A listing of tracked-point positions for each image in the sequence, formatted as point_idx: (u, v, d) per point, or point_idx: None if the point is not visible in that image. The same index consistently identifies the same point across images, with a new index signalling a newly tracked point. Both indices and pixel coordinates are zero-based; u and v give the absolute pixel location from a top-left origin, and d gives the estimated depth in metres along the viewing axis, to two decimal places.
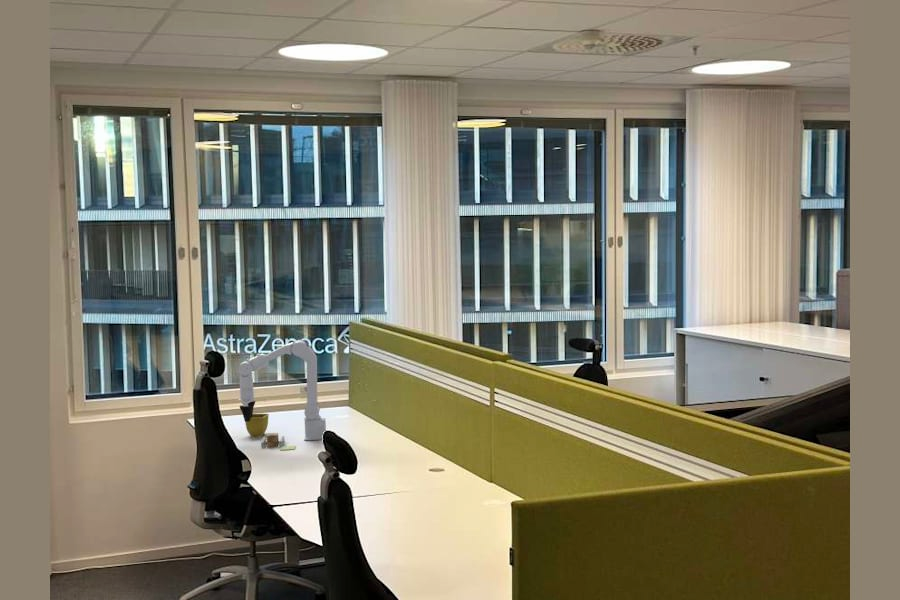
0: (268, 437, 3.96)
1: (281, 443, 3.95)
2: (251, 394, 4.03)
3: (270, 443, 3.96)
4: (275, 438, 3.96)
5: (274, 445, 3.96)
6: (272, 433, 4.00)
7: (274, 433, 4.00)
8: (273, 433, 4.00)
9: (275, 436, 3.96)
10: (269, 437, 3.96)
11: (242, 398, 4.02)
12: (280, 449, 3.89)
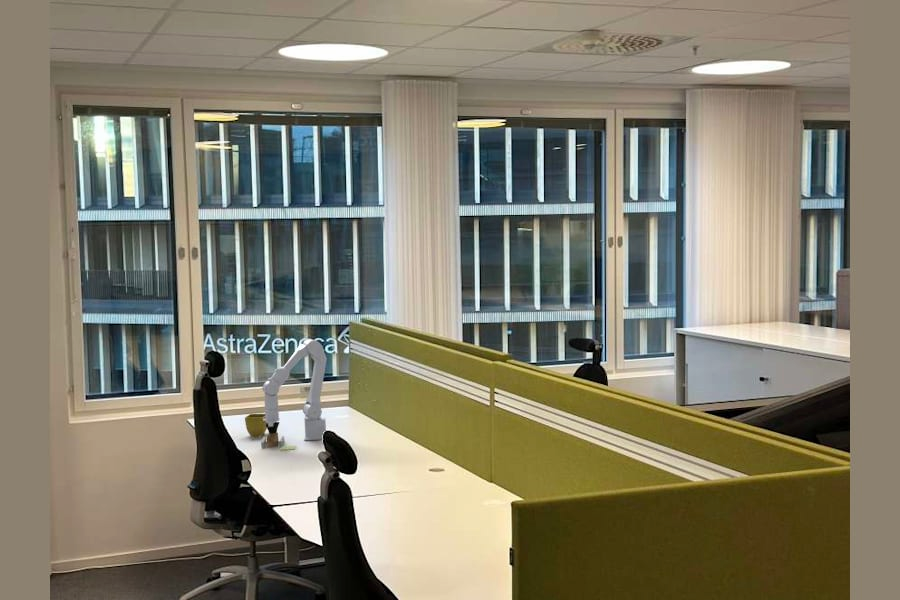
0: (268, 437, 3.96)
1: (281, 443, 3.95)
2: (276, 414, 3.99)
3: (270, 443, 3.96)
4: (275, 438, 3.96)
5: (274, 445, 3.96)
6: (272, 433, 3.99)
7: (274, 433, 3.99)
8: (273, 433, 3.99)
9: (275, 436, 3.96)
10: (269, 437, 3.96)
11: (267, 418, 3.98)
12: (280, 449, 3.89)
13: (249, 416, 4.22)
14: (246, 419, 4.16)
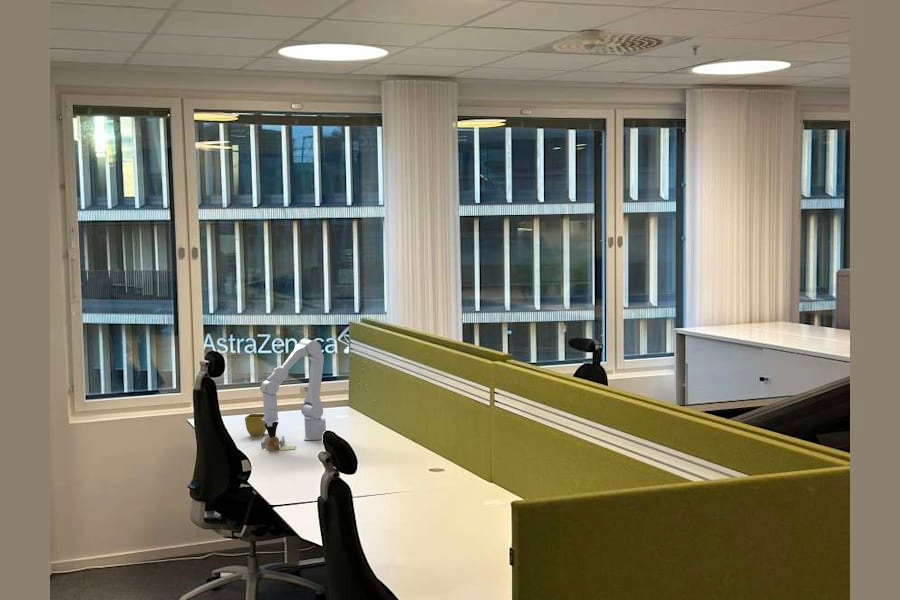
0: (270, 441, 3.88)
1: (281, 443, 3.95)
2: (275, 413, 3.94)
3: (272, 447, 3.89)
4: (277, 442, 3.89)
5: (275, 449, 3.89)
6: (271, 437, 3.92)
7: (273, 437, 3.92)
8: (272, 437, 3.92)
9: (277, 439, 3.89)
10: (271, 441, 3.88)
11: (266, 418, 3.94)
12: (280, 449, 3.89)
13: (249, 416, 4.22)
14: (246, 419, 4.16)
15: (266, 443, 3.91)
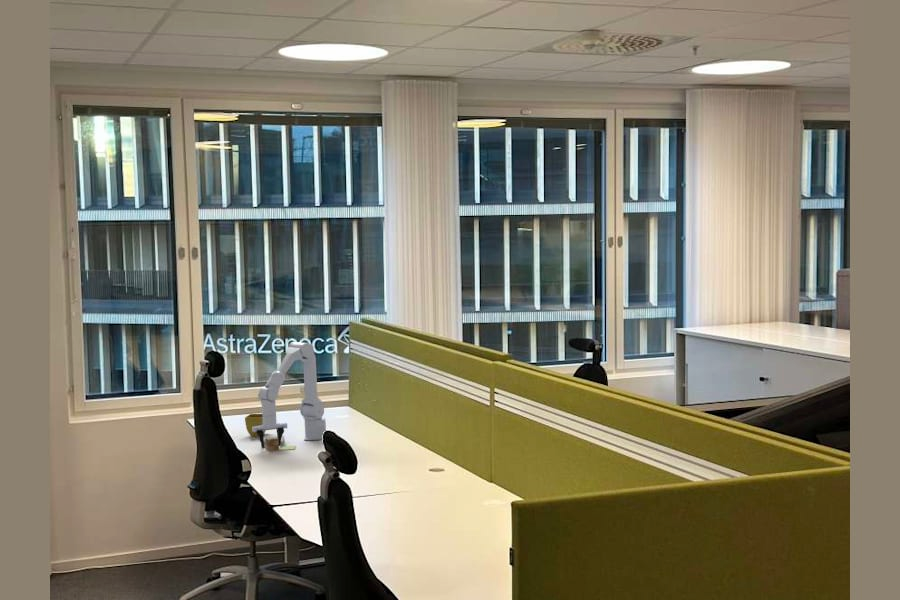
0: (269, 441, 3.88)
1: (281, 443, 3.95)
2: (266, 421, 3.87)
3: (272, 447, 3.89)
4: (276, 441, 3.89)
5: (275, 449, 3.89)
6: (270, 437, 3.92)
7: (272, 437, 3.92)
8: (271, 437, 3.92)
9: (276, 439, 3.89)
10: (270, 441, 3.88)
11: None
12: (280, 449, 3.89)
13: (249, 416, 4.22)
14: (246, 419, 4.16)
15: (266, 443, 3.91)
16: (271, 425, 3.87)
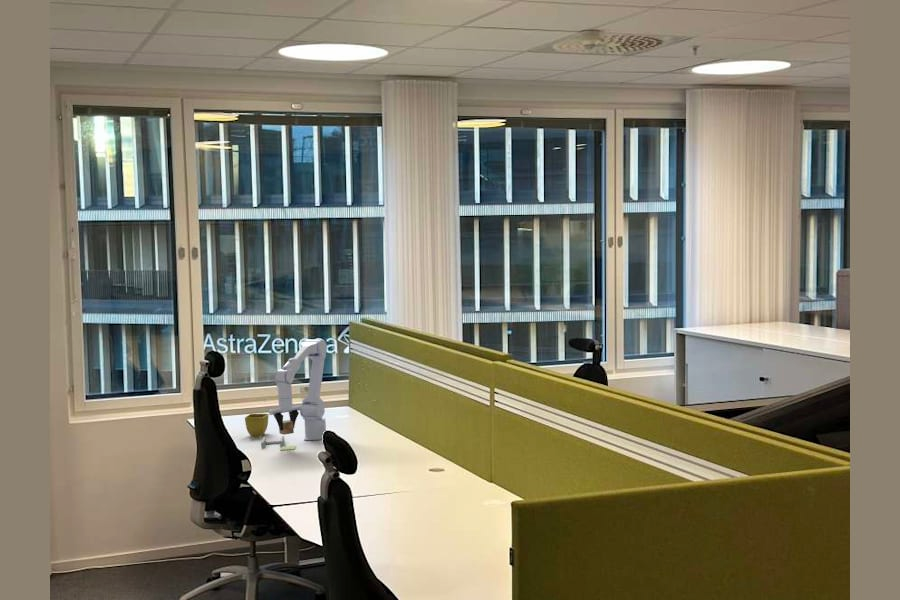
0: (284, 424, 3.89)
1: (281, 443, 3.95)
2: (283, 403, 3.87)
3: (287, 430, 3.89)
4: (291, 425, 3.90)
5: (290, 432, 3.90)
6: (284, 421, 3.93)
7: (286, 420, 3.93)
8: None
9: (291, 422, 3.90)
10: (285, 424, 3.89)
11: None
12: (280, 449, 3.89)
13: (249, 416, 4.22)
14: (246, 419, 4.16)
15: None
16: (289, 407, 3.88)
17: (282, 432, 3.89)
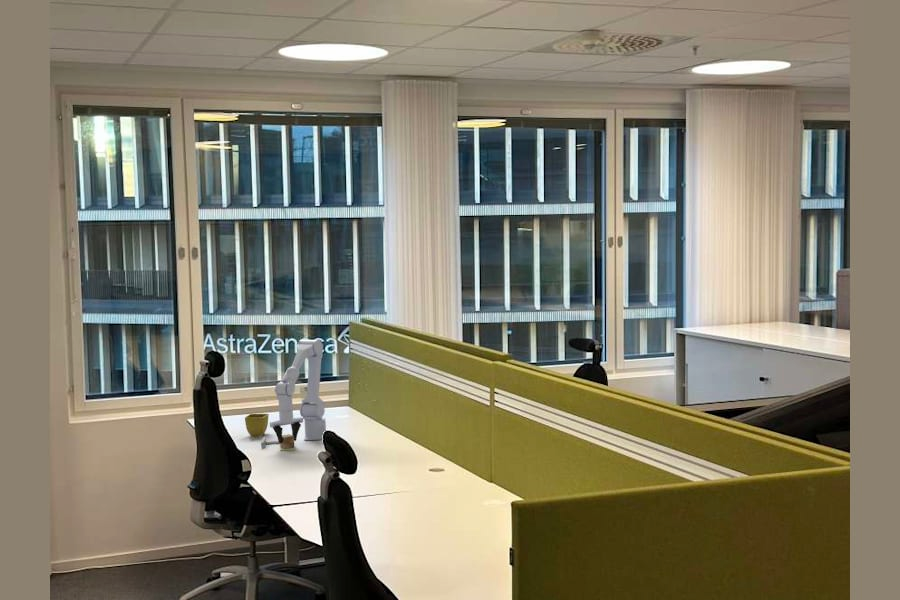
0: (285, 439, 3.89)
1: None
2: (284, 416, 3.88)
3: (288, 445, 3.90)
4: (292, 439, 3.91)
5: (291, 446, 3.91)
6: (285, 435, 3.93)
7: (287, 435, 3.93)
8: (286, 435, 3.93)
9: (292, 437, 3.91)
10: (286, 439, 3.89)
11: None
12: (280, 449, 3.89)
13: (249, 416, 4.22)
14: (246, 419, 4.16)
15: None
16: (289, 420, 3.88)
17: (283, 446, 3.90)
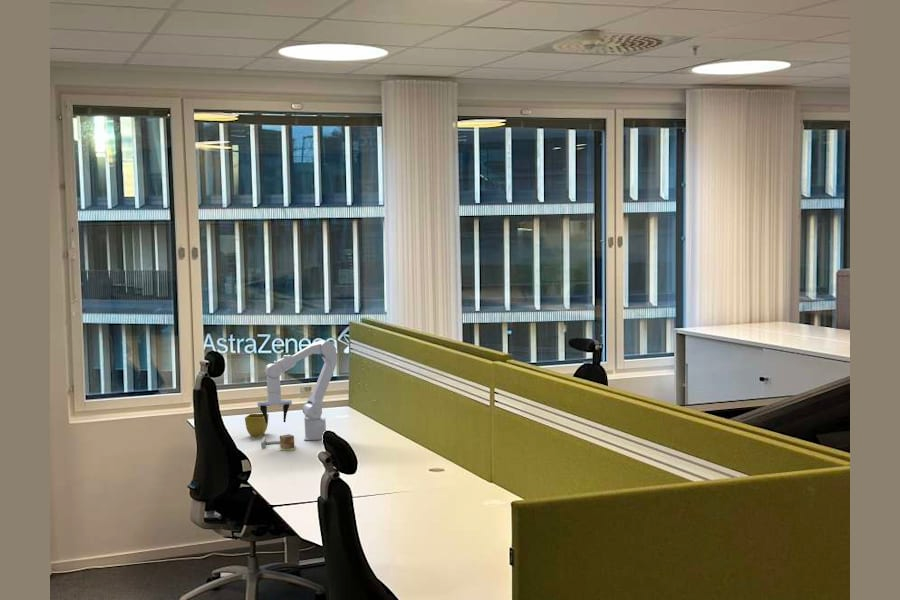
0: (285, 439, 3.89)
1: None
2: (269, 397, 3.98)
3: (288, 445, 3.90)
4: (292, 439, 3.91)
5: (291, 446, 3.91)
6: (285, 435, 3.93)
7: (287, 435, 3.93)
8: (286, 435, 3.93)
9: (292, 437, 3.91)
10: (286, 439, 3.89)
11: None
12: (280, 449, 3.89)
13: (249, 416, 4.22)
14: (246, 419, 4.16)
15: (280, 441, 3.92)
16: (274, 401, 3.97)
17: (283, 446, 3.90)
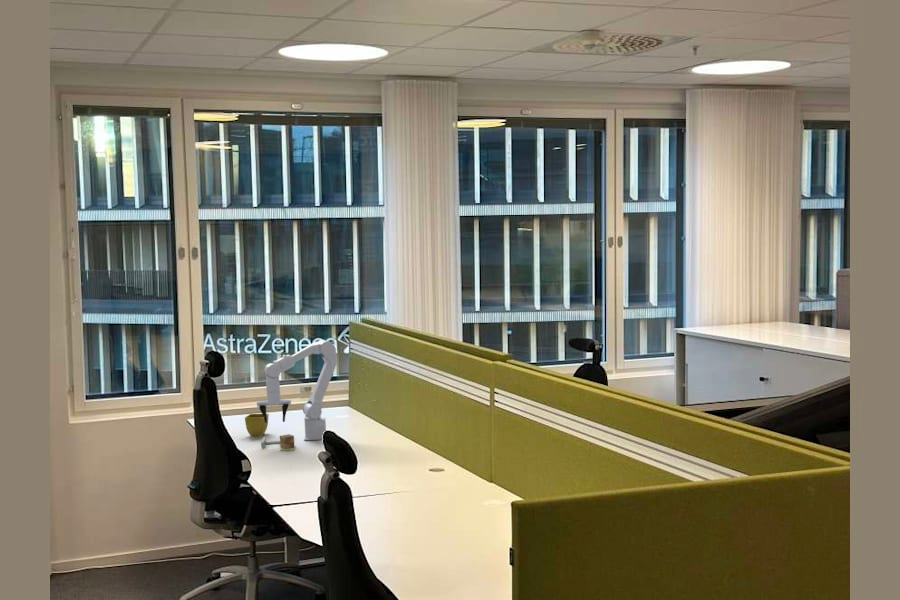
0: (285, 439, 3.89)
1: None
2: (268, 397, 3.99)
3: (288, 445, 3.90)
4: (292, 439, 3.91)
5: (291, 446, 3.91)
6: (285, 435, 3.93)
7: (287, 435, 3.93)
8: (286, 435, 3.93)
9: (292, 437, 3.91)
10: (286, 439, 3.89)
11: None
12: (280, 449, 3.89)
13: (249, 416, 4.22)
14: (246, 419, 4.16)
15: (280, 441, 3.92)
16: (273, 401, 3.98)
17: (283, 446, 3.90)
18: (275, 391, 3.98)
